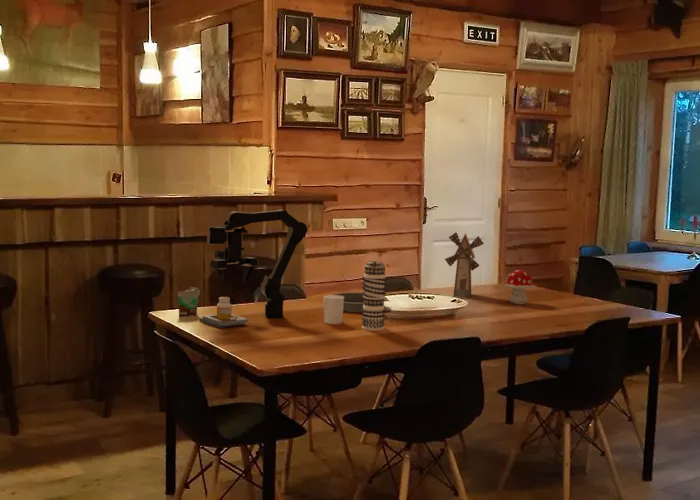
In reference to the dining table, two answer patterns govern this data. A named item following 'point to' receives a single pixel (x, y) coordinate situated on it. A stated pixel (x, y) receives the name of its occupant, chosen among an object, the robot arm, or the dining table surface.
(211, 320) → the grey knobbed square frame
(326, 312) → the white cup
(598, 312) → the dining table surface
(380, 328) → the decorative candle
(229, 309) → the supplement bottle
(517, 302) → the decorative mushroom
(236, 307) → the dining table surface
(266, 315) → the robot arm
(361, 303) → the cake pan
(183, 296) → the food container
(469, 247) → the windmill
